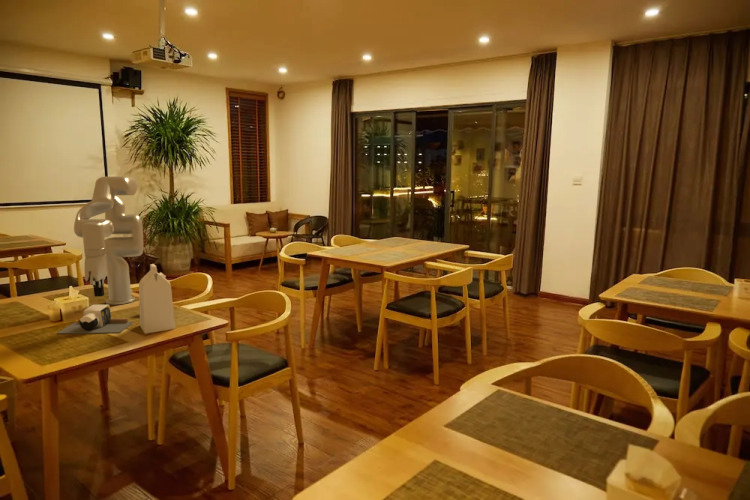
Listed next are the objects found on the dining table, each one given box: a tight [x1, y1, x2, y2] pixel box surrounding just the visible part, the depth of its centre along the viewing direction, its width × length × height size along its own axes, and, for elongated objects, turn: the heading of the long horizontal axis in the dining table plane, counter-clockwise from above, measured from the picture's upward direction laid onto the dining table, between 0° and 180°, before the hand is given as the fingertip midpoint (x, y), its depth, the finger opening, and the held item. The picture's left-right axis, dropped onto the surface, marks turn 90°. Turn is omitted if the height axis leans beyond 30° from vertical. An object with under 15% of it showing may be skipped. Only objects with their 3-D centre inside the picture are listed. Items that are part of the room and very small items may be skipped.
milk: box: [138, 263, 176, 334], centre depth 201 cm, size 12×12×26 cm
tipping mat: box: [56, 317, 134, 335], centre depth 200 cm, size 13×24×2 cm, turn 94°
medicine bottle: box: [79, 304, 113, 330], centre depth 201 cm, size 7×7×12 cm
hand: (99, 295), depth 203 cm, fingers closed
